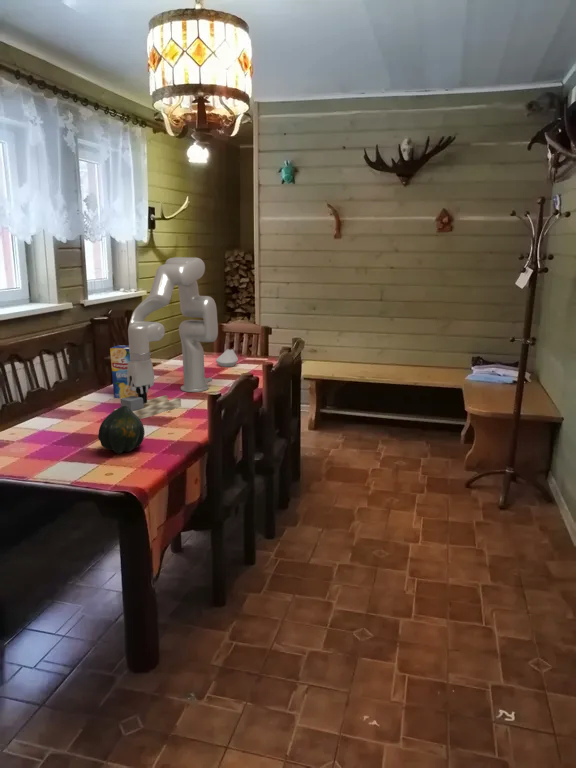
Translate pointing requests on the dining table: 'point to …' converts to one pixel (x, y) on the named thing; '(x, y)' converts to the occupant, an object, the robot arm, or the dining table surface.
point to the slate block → (133, 403)
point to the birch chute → (157, 406)
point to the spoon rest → (227, 358)
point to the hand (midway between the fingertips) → (143, 402)
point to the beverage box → (120, 371)
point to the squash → (121, 431)
